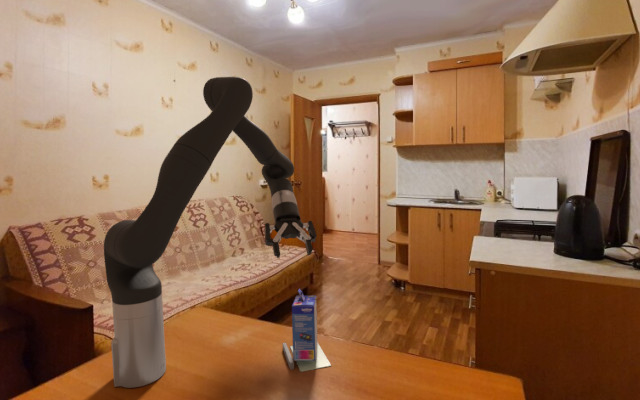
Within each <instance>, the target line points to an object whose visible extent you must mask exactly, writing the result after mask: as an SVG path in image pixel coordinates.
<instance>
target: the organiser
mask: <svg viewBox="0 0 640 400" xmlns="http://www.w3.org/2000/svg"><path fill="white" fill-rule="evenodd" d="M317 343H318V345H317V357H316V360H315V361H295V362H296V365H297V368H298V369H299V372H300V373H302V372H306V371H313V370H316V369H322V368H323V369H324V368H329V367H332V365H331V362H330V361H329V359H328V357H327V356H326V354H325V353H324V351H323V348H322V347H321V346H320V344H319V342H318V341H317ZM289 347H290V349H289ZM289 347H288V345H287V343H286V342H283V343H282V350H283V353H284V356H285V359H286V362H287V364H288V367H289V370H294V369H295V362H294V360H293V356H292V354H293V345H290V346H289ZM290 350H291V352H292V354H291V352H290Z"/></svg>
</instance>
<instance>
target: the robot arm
mask: <svg viewBox="0 0 640 400" xmlns="http://www.w3.org/2000/svg"><path fill="white" fill-rule="evenodd" d="M203 85H204V86H203V89H202V95H203V99H204V102H205V104H206V105H207V107H208V108H209V110H210V111H211V112H210V113H209V115H207V116H206V117H204V119H203V120H201V121H200V122H199V123H197V124H196V125H194V126H192V128H190V129H188V130H187V131H186V132H185V133H183V135H182V134H181V136H180V137H179V138H178V139H177V140H176V141H175V142H174V144H173V146H172V147H171V149H170V150H169V151H168V153H166V156H165V157H164V159H163V161H162V163H161V165H160V168H159V172H158V177H157V183H156V186H155V189H154V193H153V195H152V197H151V199H150V200H149V202H148V203H147V205H146V207H144V210H142V212H141V214H140V215H139V216H138V218H136V220H135V219H126V220H120V221H119V222H117V223H114V224H113V225H112V226H111V227H110V228H109V229H108V231H107V232H106V234H105V237H104V242H103V257H104V267H105V268H104V269H105V278H106V282H107V287H108V288H109V291H110V293H111V294H110V295H111V304H112V319H113V331H114V332H113V333H114V337H113V339H112V340H111V345H110V346H111V357H112V372H113V375H112V376H113V386H114V388H115V387H121V388H122V387H123V388H126V389H127V388H129V389H131V388H133V389H134V388H138V387H144V386H147V385H149V384H151V383H154V382H156V381H158V380H159V379H160V378H161V377H162V376H164V374H165V373H166V370H167V365H166V364H167V359H166V347H165V346H166V341H165V327H164V326H165V325H164V306H163V288H162V286H163V285H162V281H161V280H160V278H159V276H158V275H157V274H156V271H155V270H154V266H153V265H154V264H155V263H157V262H158V260H160V258H161V257H162V255H163V254H164V253H165V252H166V249H167V247H168V245H169V243H170V242H171V241H170V240H171V239H172V236H173V235H174V234H173V233H174V232H175V229H176V227H177V226H178V223H179V221H180V219H181V217H182V215H183V212H184V211H185V210H186V207H187V206H188V204H189V203H190V201H191V200H192V198H193V196H194V195H195V193H196V191H197V189H198V188H199V186H200V184H201V183H202V182H203V180H204V178H205V177H206V175H207V173H208V172H209V170H210V168H211V167H212V165H213V162H214V161H215V159H216V157H217V155H218V154H219V152H220V151H221V149H222V148H223V146H224V144H225V143H226V141H227V140H228V139H229V137H230V135H231V134H232V132H233V133H234V134H235V135H236V136H237V137H238V138H239V139H240V140H241V141H242V143H244V145H245V146H246V147H247V149H248V150H249V151H250V152H251V154H252V155H253V156H254V158H255V159H256V161H257V162H258V163H259V164H260V165H263V166H262V168H261V174H262V177H263V178H264V181H265V182H266V183H267V186H268V187H269V192H270V196H271V207H272V208H271V210H272V214H273V221H274V224H270V223H269V222H265V224H264V241H265V245H266V246H271V247H272V250H273V256H274V257H276V259H280V257H281V250H280V242H281V240H282V239H285V240H287V239H288V240H289V239H298V240H299V241H302V242H303V243H304V244H305V251H306V255H307V256H311V254H312V253H313V249H314V248H313V243H315V242H316V238H317V237H318V236H317V233H316V230H315V226H314V223H313V221H312V220H308V222H303V221H302V219H301V215H300V211H299V207H298V202H297V198H296V196H295V192H294V188H293V184H292V182H291V181H290V180H289V179H288V178H290V177H292V176H293V175H294V174H295V166H294V164H293V162H292V161H291V159H290V158H289V157H287V155H286V154H284V153H282V151H280V150H279V149H278V148H277V146H275V144H274V142H273V140H272V139H271V138H270V136H269V135H268V134H267V133H266V132H265V130H263V128H261V127H260V126H258V125H257V124H256V123H254V122H253V121H252V120H250V119H249V118H248V117H247V116H246V113H247V112H248V111H249V109H250V107H251V104H252V102H253V95H254V92H253V88H252V85H251V83H250V82H249V81H248V80H246V79H245V78H243V77H240V76H219V77H218V76H216V77H212V78H209V79H208V80H207V81H205V84H203ZM273 230H274V231H275V232H276V235H275V236H274V238H271V233H272V232H273ZM306 231H307V232H308V234H307V232H306Z"/></svg>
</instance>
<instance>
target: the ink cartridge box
mask: <svg viewBox="0 0 640 400" xmlns="http://www.w3.org/2000/svg"><path fill="white" fill-rule="evenodd" d="M297 294H298V295H296V296H295V298H294V300H293V303H292V304H291V321H292V322H291V323H292V325H291V327H292V330H291V331H292V346H293V353H292V359H293V362H294V361H295V362H296V361H315V360H316V357H317V345H318V344H319V342H318V311H317V309H318V306H317V304H318V303H317V302H318V301H317V295H304V293H303V291H302V290H301V288H299V289H298V290H297ZM317 342H318V343H317Z"/></svg>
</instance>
